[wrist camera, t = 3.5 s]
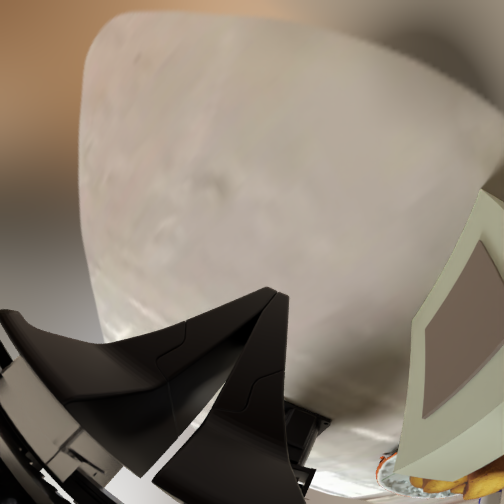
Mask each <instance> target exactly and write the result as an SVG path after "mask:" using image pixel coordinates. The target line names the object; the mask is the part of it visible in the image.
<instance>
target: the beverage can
mask: <svg viewBox="0 0 504 504" xmlns="http://www.w3.org/2000/svg"><path fill="white" fill-rule="evenodd" d="M501 494H502V489H501V490H499V491H498V492H496V493H493V494H489V495H487V496H484V497H481V498H479V504H500V502H501Z"/></svg>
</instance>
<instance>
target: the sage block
mask: <svg viewBox="0 0 504 504" xmlns="http://www.w3.org/2000/svg"><path fill="white" fill-rule="evenodd" d="M502 455H504V202H503V201H501V200H500V199H498V198H496V197H495V196H493V195H491V194H490V193H488V192H486V191H484V190H483V189H480V191H479V194H478V196H477V199H476V202H475V204H474V206H473V209H472V211H471V214H470V216H469V218H468V221H467V223H466V225H465V227H464V229H463V232H462V234H461V236H460V238H459V240H458V242H457V244H456V246H455V248H454V250H453V252H452V254H451V256H450V258H449V260H448V262H447V263H446V265H445V267H444V269H443V271H442V273H441V274H440V276H439V278H438V280H437V281H436V283H435V285H434V287H433V288H432V290H431V292H430V293H429V295H428V296H427V298H426V300H425V301H424V303H423V304H422V306H421V308H420V309H419V311H418V312H417V314H416V315H415V317H414V318H413V320H412V321H411V354H410V369H409V381H408V391H407V399H406V407H405V414H404V421H403V427H402V432H401V438H400V443H399V448H398V453H397V457H396V461H395V466H394V470H393V473H397V474H402V475H407V476H413V477H419V478H425V479H433V480H441V481H451V482H453V481H456V480H458V479H460V478H462V477H464V476H466V475H468V474H470V473H472V472H474V471H476V470H478V469H480V468H481V467H483V466H485V465H487V464H489V463H490V462H492V461H494V460H496V459H497V458H499V457H500V456H502Z"/></svg>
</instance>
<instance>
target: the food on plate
mask: <svg viewBox="0 0 504 504" xmlns="http://www.w3.org/2000/svg"><path fill="white" fill-rule="evenodd" d="M397 453H398V452H395V453H394V454H393V455H392V456H390V457H387V459H386V458H385V457H383V456H382V457H380V458H381V459H382V460H381V461H380V463H379V466H378V467H377V470H376V479H377V482H378V484H379V485H380V486H381V487H382V488H384V489H385V490H387V491H390V492H393V493H395V494H398V495H403V496H409V497H415V498H426V499H430V498H446V497H452V496H457V495H460V494H463V499H464V500H469V499H476V498H481V497H484V496H487V495H489V494H493V493H496V492H498V491H499V490H501V489H503V488H504V455H502V456H500V457H499V458H497V459H496V460H494V461H492V462H490V463H489V464H487V465H485V466H483V467H481V468H480V469H478V470H476V471H474V472H472V473H470V474H468V475H466V476H464V477H462V478H460V479H458V480H456V481H453V482H451V481H441V480H433V479H425V478H419V477H413V476H407V475H402V474H397V473H393V470H394V466H395V461H396V457H397ZM384 458H385V459H384ZM382 461H383V462H382ZM381 462H382V463H381Z"/></svg>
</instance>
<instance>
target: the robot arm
mask: <svg viewBox="0 0 504 504" xmlns="http://www.w3.org/2000/svg"><path fill="white" fill-rule="evenodd" d="M288 313H289V296H288V295H286V294H283V293H281V292H278V293H277V291H276V290H274V289H272V288H269V287H264V288H262V289H259V290H257V291H255V292H252V293H250V294H248V295H246V296H243V297H241V298H239V299H236V300H234V301H231V302H229V303H227V304H224V305H222V306H220V307H217V308H215V309H212V310H210V311H207V312H205V313H203V314H200V315H198V316H195V317H193V318H190V319H188V320H186V322H185V321H183V322H180V323H178V324H175V325H172V326H170V327H167V328H164V329H161V330H158V331H154V332H151V333H148V334H144V335H140V336H136V337H132V338H128V339H124V340H120V341H116V342H112V343H105V344H94V343H88V342H84V341H79V340H76V339H72V338H68V337H64V336H60V335H57V334H53V333H50V332H46V331H43V330H40V329H37V328H35V327H33V326H32V325H30V324H29V323H28V322H27V321H26V320H25V319H24V318H23V316H22V315H21V314H20V313H19V312H18V311H14V310H8V309H1V310H0V323H1V325H2V327H3V328H4V330H5V332H6V333H7V335H8V337H9V338H10V340H11V341H12V343H13V345H14V346H15V348H16V349H17V351H18V352H19V354H20V356H18V357H17V358H16V359H15V360H14V361H13V360H12V358H11V356H10V355H9V353H8V352H7V350H6V348H5V347H4V345H3V344H2V342H1V340H0V504H71V503H70V502H69V501H68V500H66V499H64V498H63V497H62V496H61V495H60V494H59V493H58V492H57V491H58V490H57V489H56V488H55V487H54V486H52V485H51V484H49V483H48V482H46V481H45V480H44V479H43V478H44V477H45V476H44V475H43V474H42V473H41V472H40V470H41V469H42V468H44V469H45V470H46V472H47V473H48V474H49V475H50V476H51V477H52V478H53V479H54V480H55V481H56V482H57V483H58V485H59V486H60V487H61V488H62V489H63V490H64V491H66V493H67V494H68V495H69V496H71V497H72V498H73V499H74V501H73V502H74V503H75V504H124V503H122V502H121V501H120V500H119V499H117V498H116V497H115V496H113V495H112V494H111V493H109V492H108V491H107V490H106V489H105V488H104V487H105V486H106V485H107V484H108V483H109V482H110V481H111V479H112V478H113V477H114V476H115V475H116V474H117V473H118V472H119V470H120V469H121V468H122V467H123V466H124V467H126V468H127V469H128V470H130V471H131V472H132V473H134V474H135V475H136V476H138V477H139V478H141V477H142V476H143V475H144V474H145V473H146V472H147V471H148V470H149V469H150V468H151V467H152V466H153V465H154V464H155V463H156V461H158V459H159V458H160V457H161V456H162V455H163V454H164V453H165V452H166V451H167V450H168V449H169V447H170V446H171V445H172V444H173V443H174V442H175V441H176V440H177V438H178V436H180V435H181V434H182V433H183V431H184V430H185V429H186V428H187V427H188V426H189V425H190V423H191V422H192V421H193V420H194V419H195V418H196V416H197V415H198V414H199V413H200V412H201V411H202V409H203V408H204V407H205V406H206V405H207V403H208V402H209V401H210V400H211V399H212V397H213V396H214V395H215V394H216V392H217V391H218V390H219V389H220V388H221V386H222V385H223V384H224V383H225V384H224V386H223V388H222V389H221V391H220V393H219V395H218V397H217V399H216V401H215V402H214V404H213V406H212V409H211V410H210V412H209V413H208V415H207V417H206V418H205V420H204V421H203V423H202V424H201V425H200V427H199V428H198V429H197V430H196V431H195V432H194V433H193V435H192V436H191V437H190V438H189V439H188V440H187V441H186V443H185V444H184V445H183V446H182V447H181V448H180V449H179V450H178V451H177V452H176V454H175V455H174V456H173V457H172V458H171V459H170V460H169V461H168V462H167V463H166V464H165V465H164V466H163V467H162V469H161V470H160V471H159V472H158V473H157V474H156V475H155V477H154V478H153V480H152V483H153V484H154V485H156V486H157V487H158V488H160V489H161V490H162V491H164V492H165V493H166V494H168V495H169V496H170V497H172V498H173V499H174V500H176V501H177V502H179V503H180V504H306V502H305V499H304V497H305V495H306V493H307V490H308V488H309V486H310V484H311V481H312V479H313V477H314V474H315V472H316V469H313V468H311V469H310V468H307V467H304V465H305V463H306V461H307V458H308V456H309V454H310V451H311V449H312V447H313V444H314V442H315V440H316V437H318V436H319V435H320V434H321V433H322V432H323V431H324V430H325V429H326V428H327V427H329V426H330V424H331V420H330V419H327V418H325V417H322V416H319V415H317V414H314V413H312V412H309V411H307V410H304V409H302V408H299V407H297V406H294V405H292V404H290V403H287V402H285V401H284V378H285V372H284V371H285V362H286V347H287V331H288ZM225 381H226V382H225ZM298 481H299V482H303V485H302V484H298Z"/></svg>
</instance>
